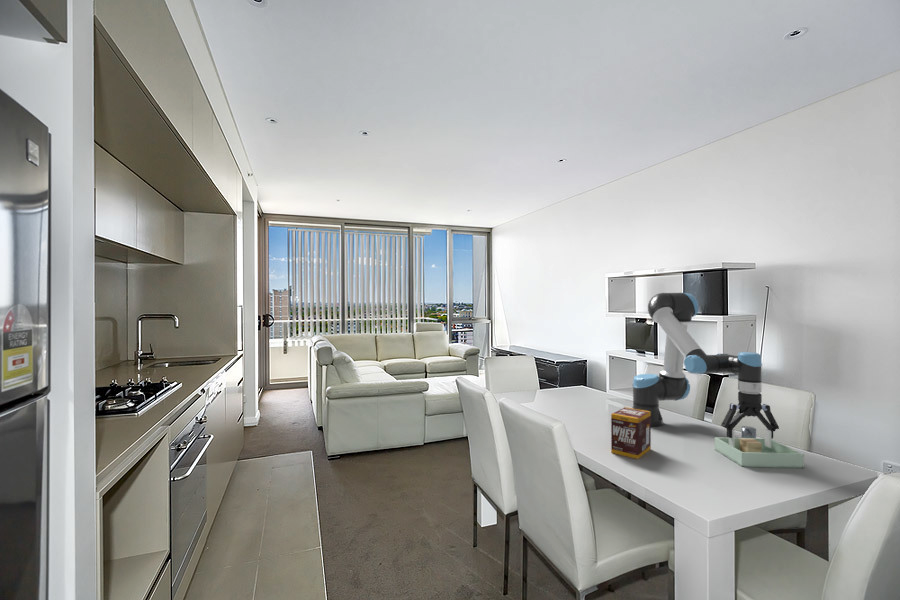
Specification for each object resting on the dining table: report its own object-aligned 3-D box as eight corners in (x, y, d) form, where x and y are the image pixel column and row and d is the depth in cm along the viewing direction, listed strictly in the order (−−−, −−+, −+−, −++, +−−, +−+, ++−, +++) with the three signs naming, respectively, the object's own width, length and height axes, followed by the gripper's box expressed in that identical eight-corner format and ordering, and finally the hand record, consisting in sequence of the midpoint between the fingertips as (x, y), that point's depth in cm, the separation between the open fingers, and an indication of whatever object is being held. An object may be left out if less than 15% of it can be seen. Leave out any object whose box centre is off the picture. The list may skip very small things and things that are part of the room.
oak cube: (739, 451, 167) (739, 438, 167) (753, 451, 167) (753, 438, 167) (747, 455, 162) (747, 442, 162) (761, 455, 162) (761, 442, 162)
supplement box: (610, 453, 166) (610, 413, 167) (625, 443, 178) (625, 406, 178) (637, 459, 159) (637, 418, 159) (651, 449, 171) (651, 410, 171)
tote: (714, 449, 170) (714, 437, 170) (770, 451, 169) (770, 438, 169) (741, 466, 153) (741, 452, 153) (803, 468, 151) (803, 454, 151)
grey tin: (738, 442, 179) (738, 426, 179) (751, 442, 178) (751, 426, 178) (746, 446, 174) (746, 429, 174) (759, 446, 173) (759, 429, 173)
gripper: (722, 393, 162) (722, 448, 162) (790, 394, 160) (790, 450, 160) (711, 389, 169) (711, 442, 169) (776, 390, 168) (776, 443, 167)
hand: (749, 446), depth 165 cm, fingers open, 13 cm apart
